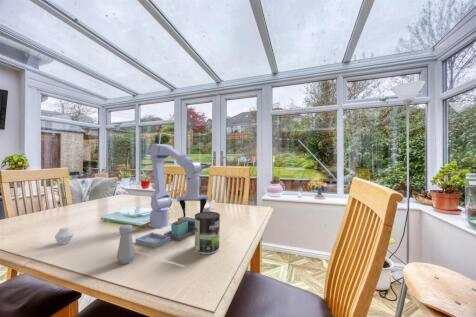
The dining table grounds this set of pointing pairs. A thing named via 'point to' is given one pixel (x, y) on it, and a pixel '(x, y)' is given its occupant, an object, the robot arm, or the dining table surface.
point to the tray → (153, 240)
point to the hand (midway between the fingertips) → (192, 215)
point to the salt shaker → (125, 245)
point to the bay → (190, 229)
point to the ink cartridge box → (210, 207)
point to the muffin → (64, 236)
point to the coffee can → (207, 232)
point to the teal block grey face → (179, 228)
